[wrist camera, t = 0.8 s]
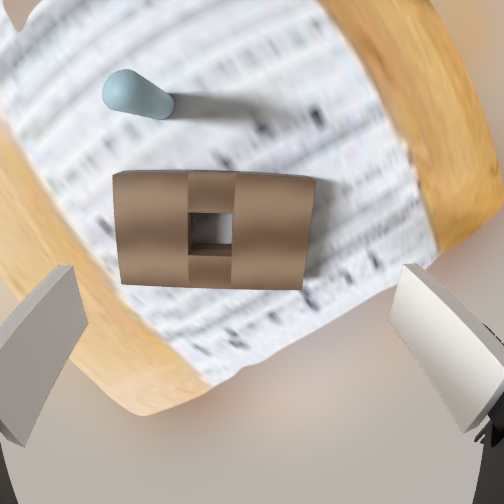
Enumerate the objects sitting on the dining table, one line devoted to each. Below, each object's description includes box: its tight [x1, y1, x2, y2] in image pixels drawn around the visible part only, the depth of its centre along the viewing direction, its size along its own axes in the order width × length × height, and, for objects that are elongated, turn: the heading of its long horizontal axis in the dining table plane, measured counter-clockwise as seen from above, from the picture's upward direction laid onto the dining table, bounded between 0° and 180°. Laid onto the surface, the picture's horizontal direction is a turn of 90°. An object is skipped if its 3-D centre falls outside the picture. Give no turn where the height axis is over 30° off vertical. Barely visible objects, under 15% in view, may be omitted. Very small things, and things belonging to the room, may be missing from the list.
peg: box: [102, 69, 174, 120], centre depth 21 cm, size 3×3×12 cm
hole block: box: [113, 170, 316, 290], centre depth 31 cm, size 12×20×4 cm, turn 87°
